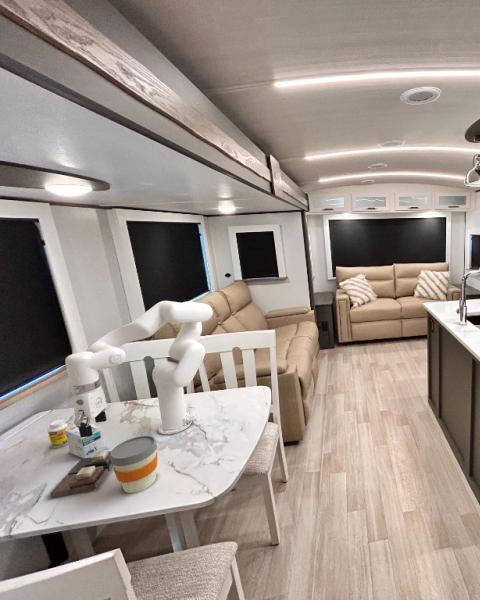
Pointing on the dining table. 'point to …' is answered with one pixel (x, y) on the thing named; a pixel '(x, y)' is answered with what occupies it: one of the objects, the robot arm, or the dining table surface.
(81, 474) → the key
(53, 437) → the supplement bottle
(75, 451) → the light bulb box
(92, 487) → the key block
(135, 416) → the dining table surface
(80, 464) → the key block
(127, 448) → the reusable coffee cup
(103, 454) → the key
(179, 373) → the robot arm
